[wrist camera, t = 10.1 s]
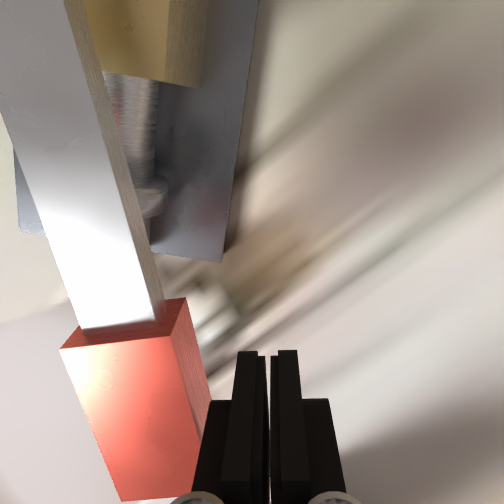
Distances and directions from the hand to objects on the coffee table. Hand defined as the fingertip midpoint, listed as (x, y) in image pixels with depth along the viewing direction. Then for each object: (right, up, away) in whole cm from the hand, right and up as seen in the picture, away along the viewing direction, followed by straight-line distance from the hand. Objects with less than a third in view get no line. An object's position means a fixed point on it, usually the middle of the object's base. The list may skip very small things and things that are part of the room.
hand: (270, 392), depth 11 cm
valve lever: (-4, +5, -2) cm, 7 cm away
